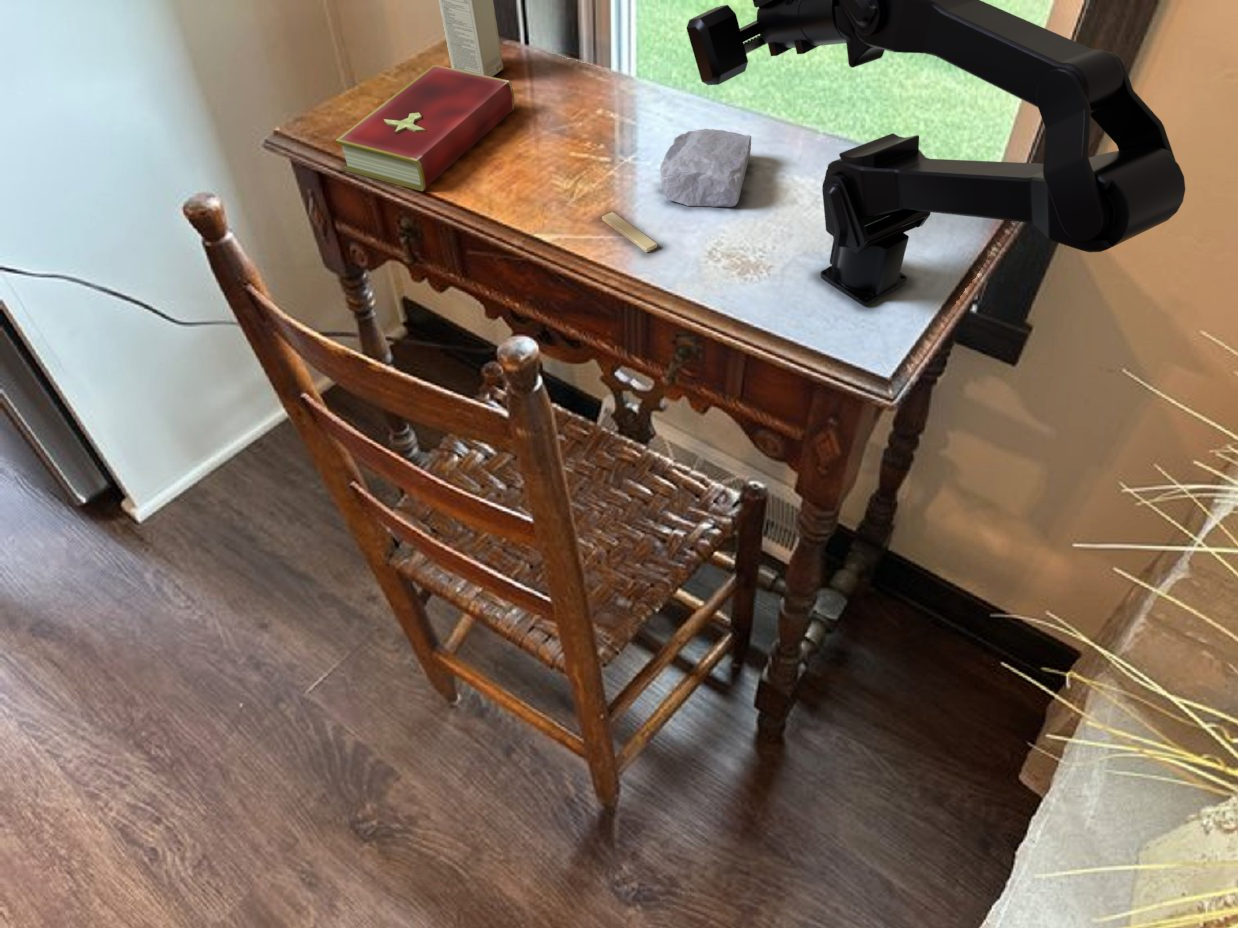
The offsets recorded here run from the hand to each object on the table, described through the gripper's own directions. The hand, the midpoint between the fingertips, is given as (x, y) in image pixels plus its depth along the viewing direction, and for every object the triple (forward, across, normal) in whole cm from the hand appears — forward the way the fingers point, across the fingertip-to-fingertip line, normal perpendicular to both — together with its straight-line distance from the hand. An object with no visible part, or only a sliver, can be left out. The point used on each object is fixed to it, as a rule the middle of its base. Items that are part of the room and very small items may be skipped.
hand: (727, 24), depth 96 cm
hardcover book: (+30, +26, +2) cm, 40 cm away
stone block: (+6, +5, +16) cm, 17 cm away
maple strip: (+2, +18, +16) cm, 24 cm away
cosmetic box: (+43, +13, -1) cm, 45 cm away
